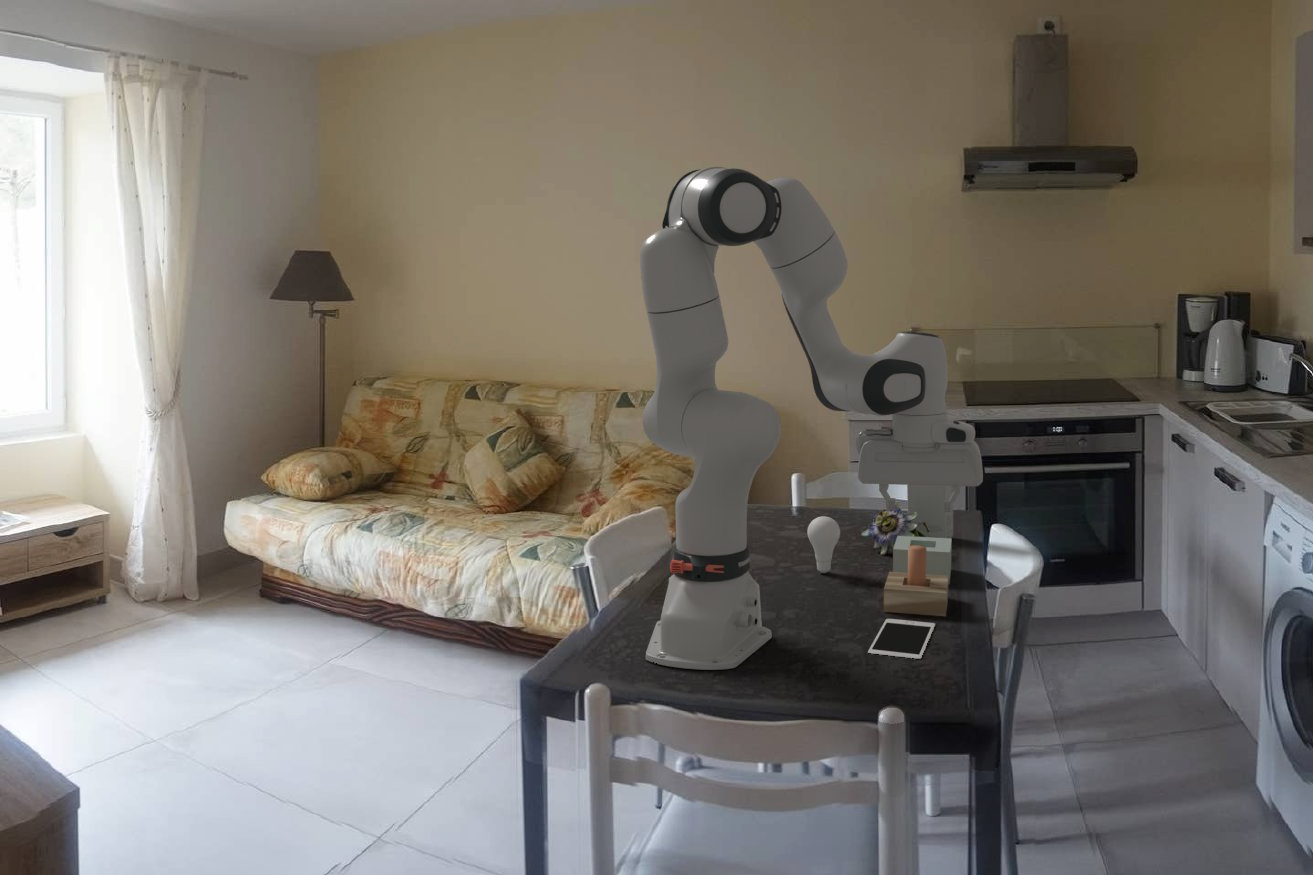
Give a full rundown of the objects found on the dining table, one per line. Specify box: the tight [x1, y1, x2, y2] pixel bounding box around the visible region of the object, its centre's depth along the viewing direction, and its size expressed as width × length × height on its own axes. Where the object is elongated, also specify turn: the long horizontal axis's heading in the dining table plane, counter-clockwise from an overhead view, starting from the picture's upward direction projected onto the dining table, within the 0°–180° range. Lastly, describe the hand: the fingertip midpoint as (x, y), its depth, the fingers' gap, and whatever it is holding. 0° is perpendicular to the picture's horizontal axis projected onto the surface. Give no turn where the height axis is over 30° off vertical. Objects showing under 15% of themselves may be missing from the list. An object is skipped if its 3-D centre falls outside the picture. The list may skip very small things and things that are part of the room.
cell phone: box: [867, 618, 936, 660], centre depth 153 cm, size 8×16×1 cm, turn 157°
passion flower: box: [860, 501, 930, 556], centre depth 202 cm, size 11×11×12 cm
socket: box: [892, 536, 952, 585], centre depth 185 cm, size 10×10×6 cm
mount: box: [883, 571, 949, 617], centre depth 168 cm, size 10×10×4 cm
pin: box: [908, 545, 926, 586], centre depth 168 cm, size 3×3×10 cm
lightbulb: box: [806, 515, 841, 574], centre depth 188 cm, size 6×6×11 cm
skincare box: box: [906, 485, 954, 539], centre depth 210 cm, size 8×7×16 cm
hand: (919, 510), depth 166 cm, fingers open, 8 cm apart
